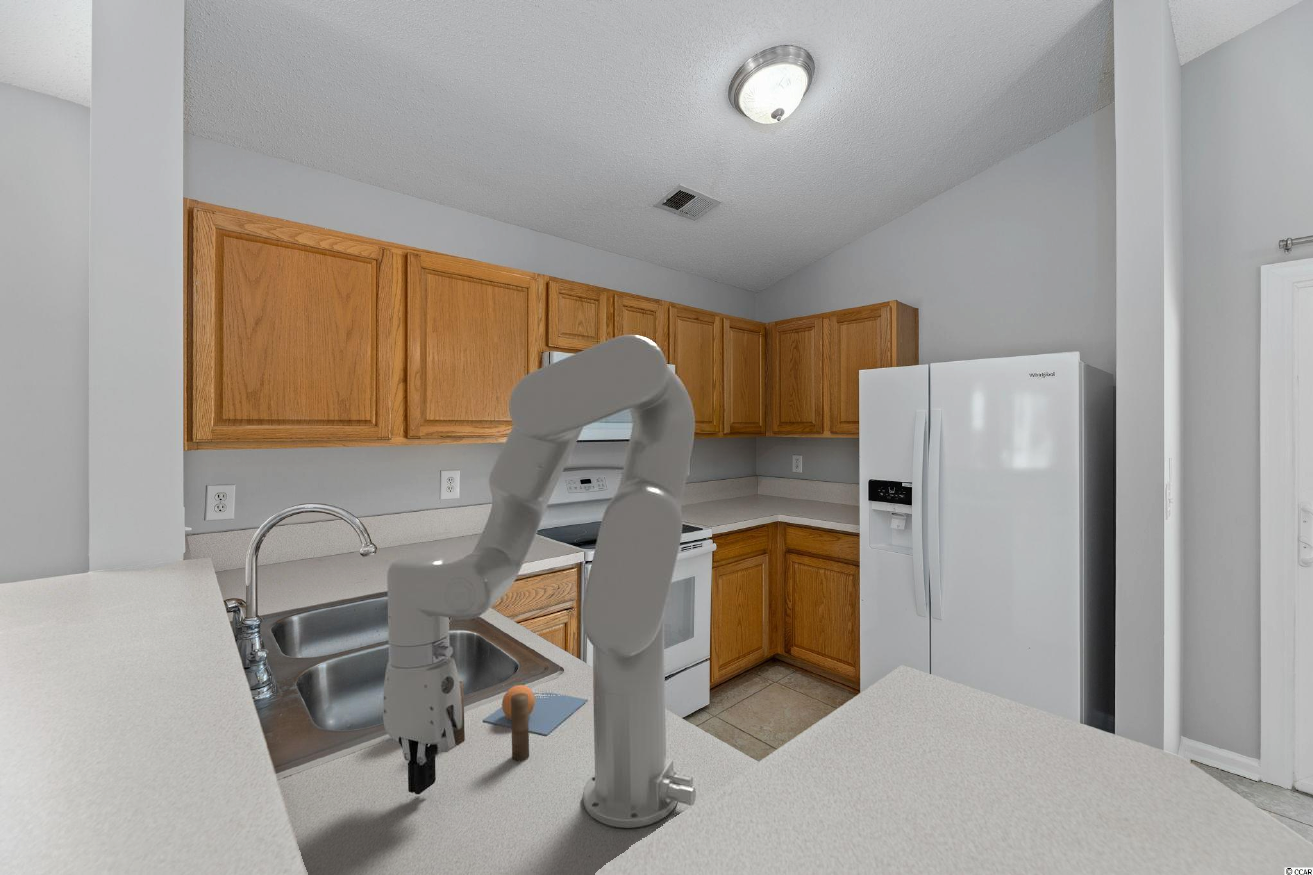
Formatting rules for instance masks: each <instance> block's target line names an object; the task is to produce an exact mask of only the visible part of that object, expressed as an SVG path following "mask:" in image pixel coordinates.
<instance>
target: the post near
mask: <svg viewBox="0 0 1313 875" xmlns="http://www.w3.org/2000/svg"><path fill="white" fill-rule="evenodd" d="M511 723H512V728H511V759H512V760H513V761H514V762H517V763H518V762H524V761H526V760H527V759H529V757H530V732H529V719H528V695H527V694H524V693H519V694H515V695H513V696H512V697H511Z"/></svg>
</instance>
